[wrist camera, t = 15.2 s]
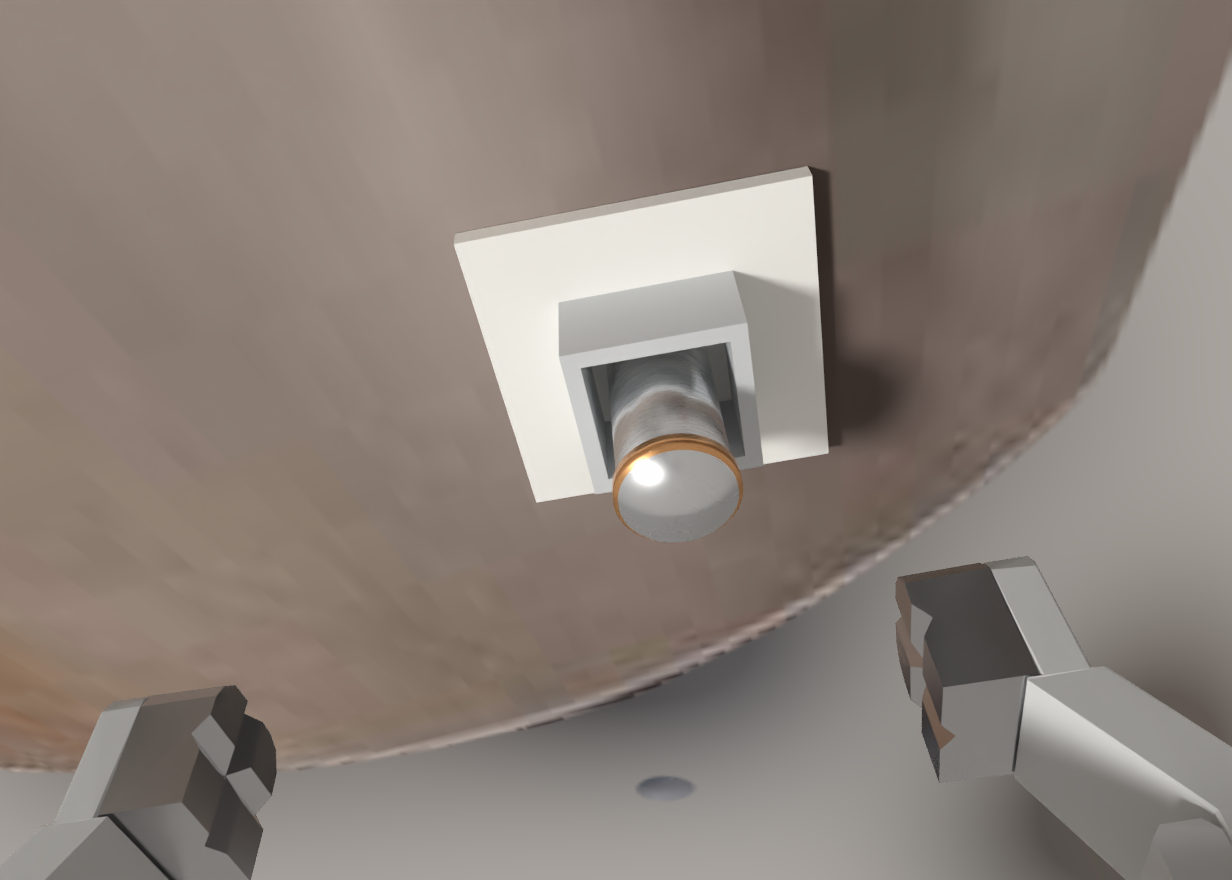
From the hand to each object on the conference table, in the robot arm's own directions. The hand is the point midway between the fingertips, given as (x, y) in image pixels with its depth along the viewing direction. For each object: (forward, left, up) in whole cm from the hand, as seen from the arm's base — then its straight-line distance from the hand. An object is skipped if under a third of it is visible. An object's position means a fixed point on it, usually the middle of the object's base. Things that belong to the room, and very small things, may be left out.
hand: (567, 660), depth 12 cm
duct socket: (+1, -18, -33) cm, 38 cm away
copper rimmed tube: (+1, -18, -32) cm, 37 cm away
